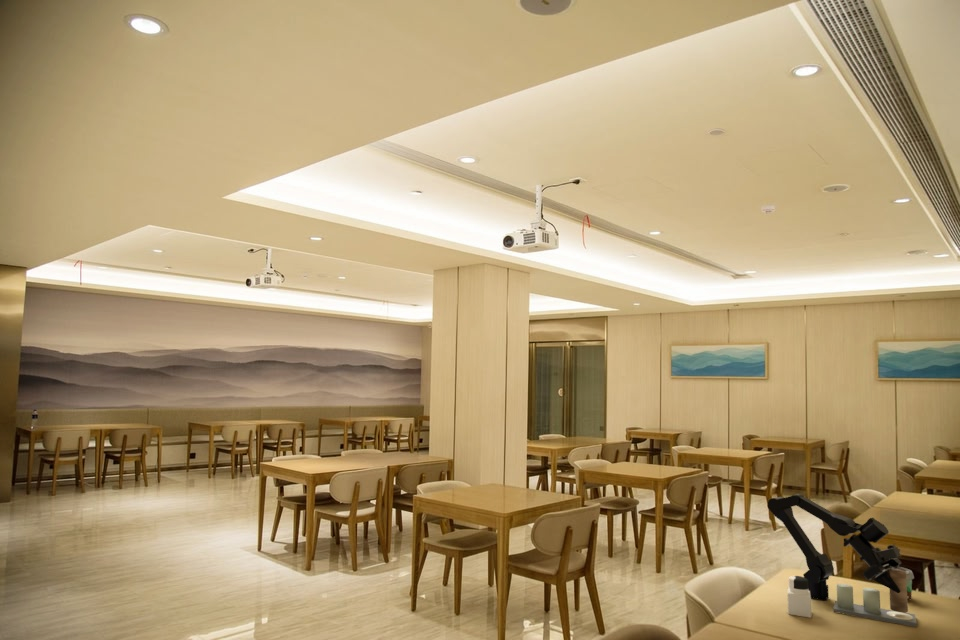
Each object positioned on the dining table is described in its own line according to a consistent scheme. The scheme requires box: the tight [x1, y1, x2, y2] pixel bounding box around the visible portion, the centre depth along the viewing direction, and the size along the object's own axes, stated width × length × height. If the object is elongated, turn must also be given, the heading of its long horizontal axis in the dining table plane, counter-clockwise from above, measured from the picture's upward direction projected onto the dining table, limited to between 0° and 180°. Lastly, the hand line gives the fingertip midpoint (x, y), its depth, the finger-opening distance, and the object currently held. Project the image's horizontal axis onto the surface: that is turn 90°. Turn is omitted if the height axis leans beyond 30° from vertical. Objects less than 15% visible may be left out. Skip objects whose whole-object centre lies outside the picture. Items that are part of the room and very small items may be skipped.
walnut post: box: [889, 568, 909, 613], centre depth 216 cm, size 5×5×13 cm
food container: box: [899, 566, 915, 601], centre depth 240 cm, size 12×6×10 cm, turn 168°
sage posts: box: [836, 583, 881, 614], centre depth 222 cm, size 13×5×7 cm, turn 58°
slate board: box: [832, 600, 918, 628], centre depth 219 cm, size 24×10×1 cm, turn 58°
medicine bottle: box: [786, 575, 813, 618], centre depth 220 cm, size 7×7×12 cm
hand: (902, 591), depth 215 cm, fingers closed on walnut post, 5 cm apart
